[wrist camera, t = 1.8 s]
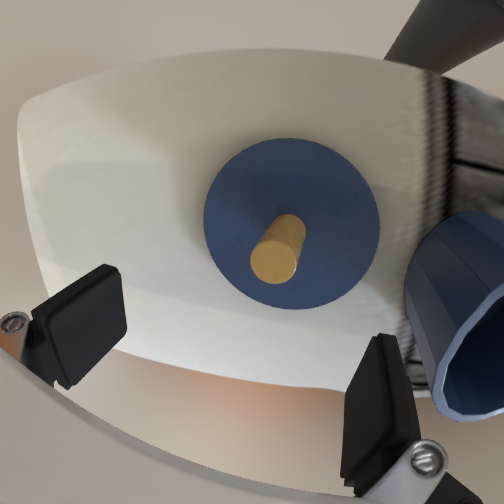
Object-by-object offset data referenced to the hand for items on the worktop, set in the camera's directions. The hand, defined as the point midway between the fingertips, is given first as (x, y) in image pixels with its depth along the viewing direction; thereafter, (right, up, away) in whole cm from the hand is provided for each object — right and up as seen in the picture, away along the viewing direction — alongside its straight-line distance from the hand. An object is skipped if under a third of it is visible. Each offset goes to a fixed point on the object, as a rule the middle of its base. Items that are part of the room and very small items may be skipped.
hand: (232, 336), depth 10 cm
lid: (+3, +4, +10) cm, 12 cm away
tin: (+18, +1, +8) cm, 20 cm away
